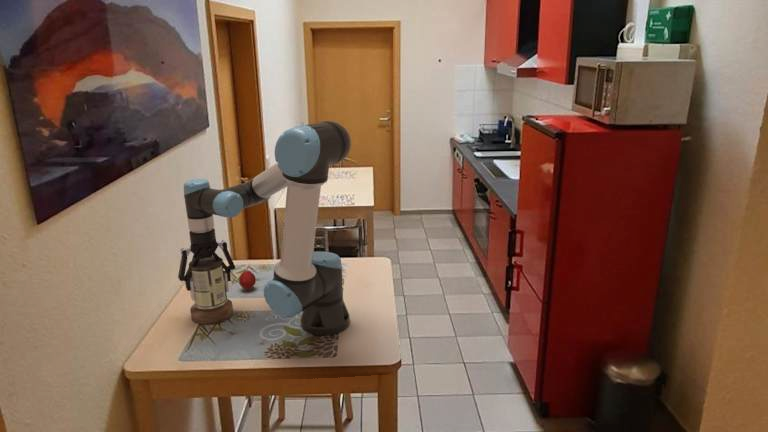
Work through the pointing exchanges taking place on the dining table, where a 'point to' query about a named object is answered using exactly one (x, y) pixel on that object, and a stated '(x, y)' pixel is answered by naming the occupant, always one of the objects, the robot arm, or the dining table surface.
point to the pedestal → (212, 314)
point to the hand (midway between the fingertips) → (210, 294)
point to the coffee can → (209, 283)
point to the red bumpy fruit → (247, 279)
